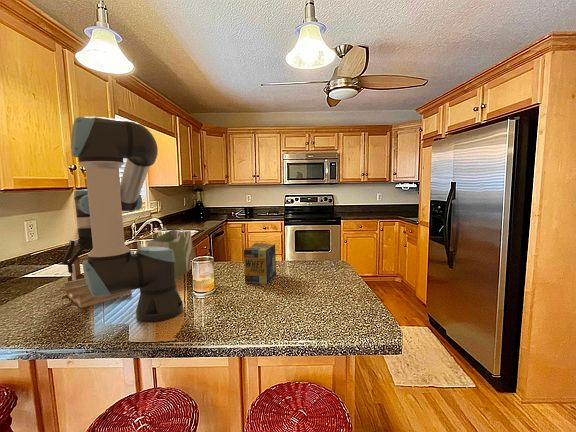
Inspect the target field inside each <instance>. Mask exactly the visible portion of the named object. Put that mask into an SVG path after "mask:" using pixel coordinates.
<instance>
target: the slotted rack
mask: <svg viewBox="0 0 576 432" xmlns="http://www.w3.org/2000/svg"><path fill="white" fill-rule="evenodd" d="M85 284H86V278H85V277H84V279H79V280H76V281H70V282H68V281H66V282H64V289H65V290H64V291H65V296H67V297H68V298H69V299H70V300H71V301H73V303H75V304H76V306H78V307H79V308H80V309H82V308H86V307H88V306H93V305H97V304H101V303H104V301H105V302H108V301H112V300H115V299H114V298H116V299H118V298H117V297H119V298H122V297H121V296H123V297H125V296H124V295H127V296H129V295H128V294H131V295H133V294H132V291H133V290H130V291H126V292H121V293H117V294H113V295H111V296H109V295H108V296H102V297H94V296H93V295H92V294H91V292H90V290H89V288H88V285H87V284H86V285H85ZM111 299H112V300H111ZM107 300H108V301H107Z"/></svg>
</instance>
